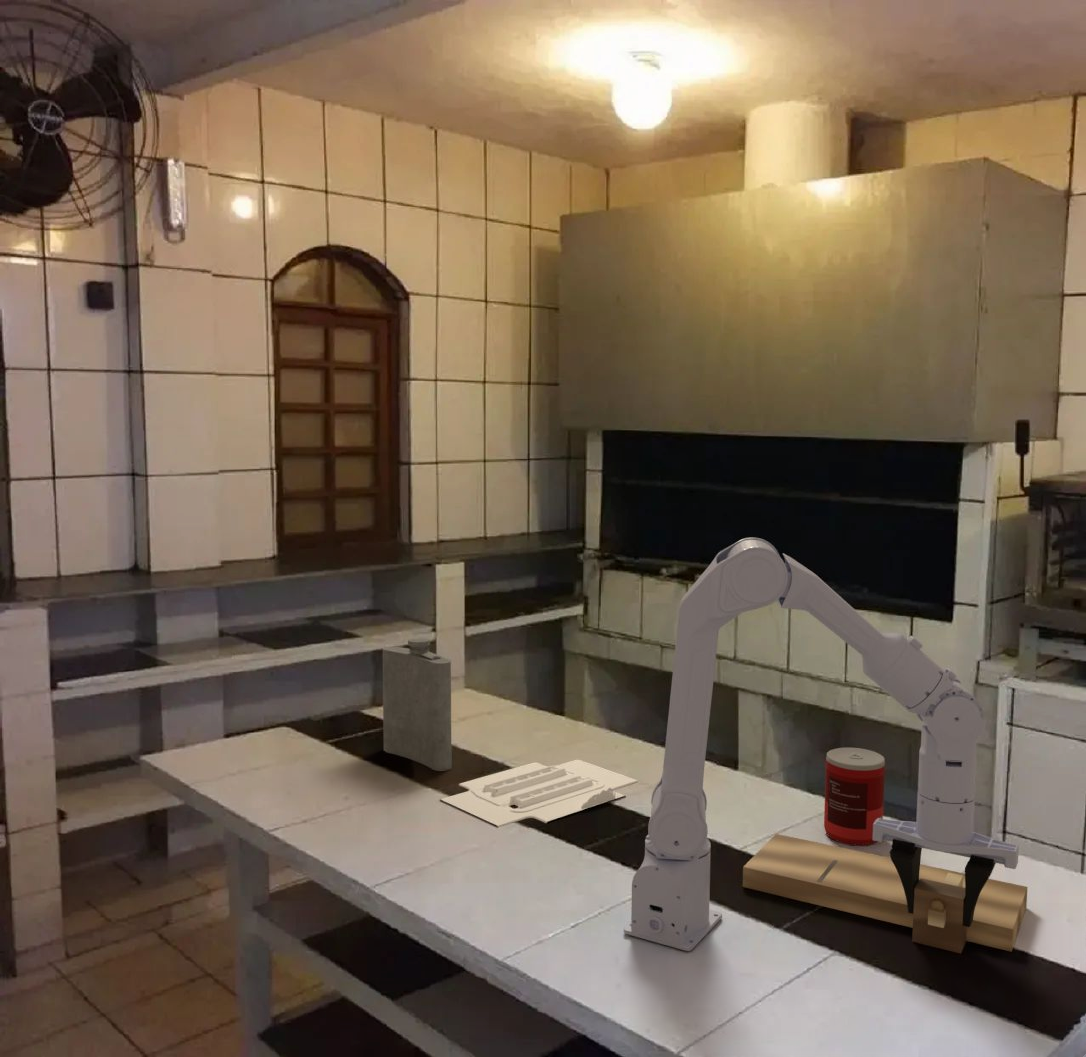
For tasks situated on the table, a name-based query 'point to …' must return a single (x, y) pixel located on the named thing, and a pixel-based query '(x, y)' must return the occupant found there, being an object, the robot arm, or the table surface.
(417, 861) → the table surface
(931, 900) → the brown block with bar
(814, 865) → the oak board
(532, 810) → the tray
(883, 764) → the canned food
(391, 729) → the hip flask
